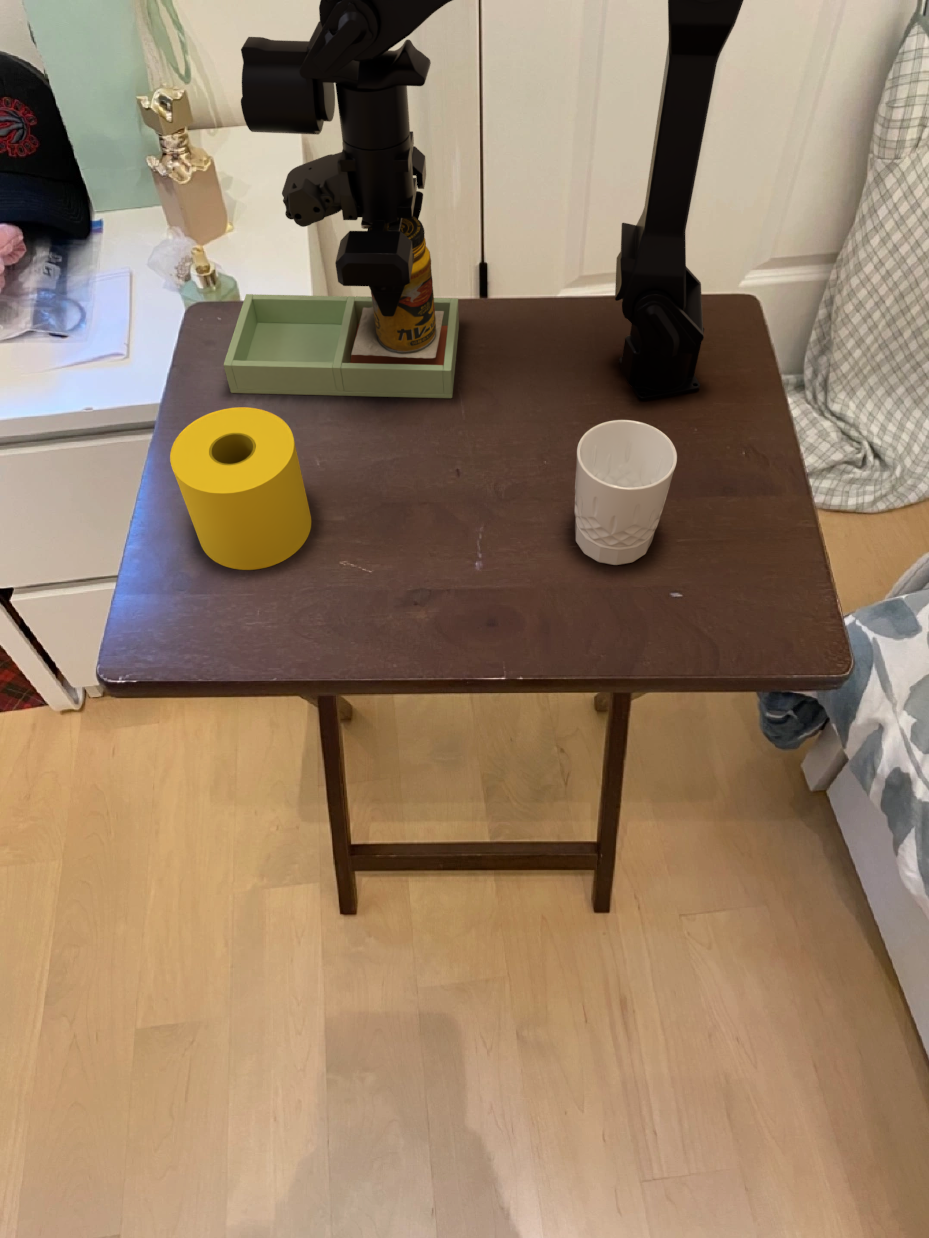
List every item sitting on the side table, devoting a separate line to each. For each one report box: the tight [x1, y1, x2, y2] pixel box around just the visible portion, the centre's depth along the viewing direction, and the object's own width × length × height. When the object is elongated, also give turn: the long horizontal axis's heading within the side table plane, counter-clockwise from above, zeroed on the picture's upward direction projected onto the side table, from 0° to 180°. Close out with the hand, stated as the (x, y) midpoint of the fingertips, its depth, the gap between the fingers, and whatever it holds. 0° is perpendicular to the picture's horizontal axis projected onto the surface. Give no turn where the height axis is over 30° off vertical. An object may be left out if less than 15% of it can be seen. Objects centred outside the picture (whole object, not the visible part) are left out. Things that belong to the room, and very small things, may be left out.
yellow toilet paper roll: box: [169, 406, 312, 571], centre depth 80 cm, size 10×10×9 cm
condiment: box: [351, 216, 444, 358], centre depth 90 cm, size 7×8×12 cm
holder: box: [222, 293, 460, 399], centre depth 96 cm, size 22×12×4 cm, turn 87°
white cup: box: [574, 419, 678, 566], centre depth 78 cm, size 8×8×10 cm
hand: (391, 295), depth 91 cm, fingers closed on condiment, 6 cm apart
